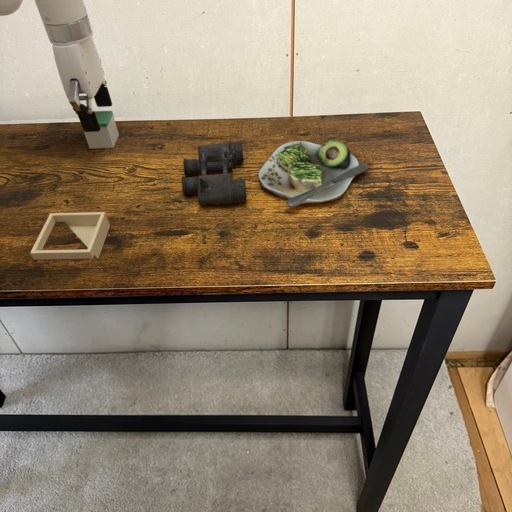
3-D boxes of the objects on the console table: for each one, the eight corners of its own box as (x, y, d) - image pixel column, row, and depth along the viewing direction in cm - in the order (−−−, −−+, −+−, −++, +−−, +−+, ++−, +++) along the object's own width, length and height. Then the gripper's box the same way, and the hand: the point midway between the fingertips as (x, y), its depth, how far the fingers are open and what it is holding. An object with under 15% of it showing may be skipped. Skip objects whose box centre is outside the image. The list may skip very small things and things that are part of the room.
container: (89, 148, 93) (80, 124, 89) (95, 135, 97) (87, 111, 93) (113, 148, 93) (106, 123, 89) (119, 134, 97) (112, 110, 93)
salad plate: (333, 228, 74) (336, 205, 70) (239, 197, 80) (237, 176, 77) (373, 165, 85) (376, 143, 82) (287, 143, 92) (287, 122, 88)
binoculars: (183, 212, 78) (177, 182, 74) (187, 159, 89) (182, 131, 85) (247, 207, 78) (245, 177, 74) (243, 155, 89) (240, 126, 85)
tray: (37, 267, 70) (29, 253, 68) (56, 226, 77) (50, 213, 75) (96, 266, 70) (89, 252, 68) (110, 225, 76) (105, 211, 74)
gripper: (63, 12, 85) (92, 98, 97) (29, 50, 73) (67, 142, 85) (102, 10, 85) (126, 96, 97) (75, 47, 73) (106, 140, 85)
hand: (98, 118), depth 91 cm, fingers open, 9 cm apart
